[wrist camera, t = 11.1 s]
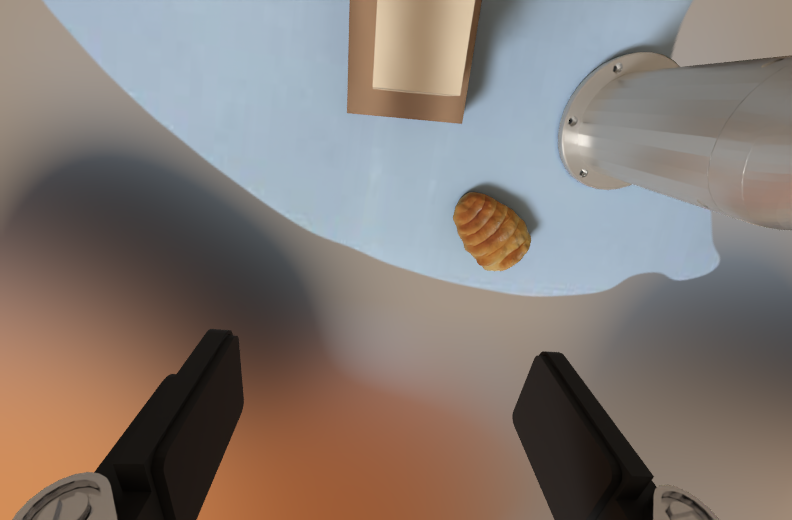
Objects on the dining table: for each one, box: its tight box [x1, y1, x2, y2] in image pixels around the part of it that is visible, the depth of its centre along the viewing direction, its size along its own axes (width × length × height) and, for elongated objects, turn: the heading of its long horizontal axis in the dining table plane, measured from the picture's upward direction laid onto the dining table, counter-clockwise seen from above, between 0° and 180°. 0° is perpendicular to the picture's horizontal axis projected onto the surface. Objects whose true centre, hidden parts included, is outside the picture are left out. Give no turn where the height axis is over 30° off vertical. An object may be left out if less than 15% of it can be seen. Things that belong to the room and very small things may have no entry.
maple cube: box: [373, 0, 475, 96], centre depth 24 cm, size 6×6×6 cm
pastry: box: [453, 192, 531, 271], centre depth 36 cm, size 9×7×4 cm
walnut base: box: [347, 0, 482, 124], centre depth 29 cm, size 10×10×4 cm
